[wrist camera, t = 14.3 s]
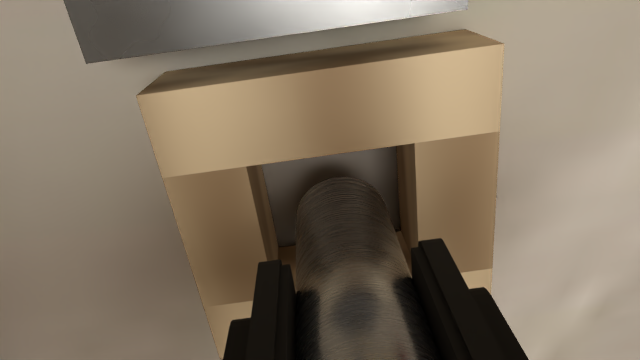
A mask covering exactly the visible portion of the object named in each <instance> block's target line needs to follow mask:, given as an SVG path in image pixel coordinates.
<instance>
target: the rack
mask: <svg viewBox="0 0 640 360" xmlns="http://www.w3.org/2000/svg"><path fill="white" fill-rule="evenodd" d="M503 59H504V43H501V42H498V41H496V40H493V39H490V38H488V37H485V36H482V35H480V34H477V33H474V32H471V31H469V30H466V29H464V30H457V31H450V32H443V33H436V34H429V35H422V36H415V37H408V38H401V39H393V40H386V41H379V42H372V43H365V44H358V45H351V46H344V47H337V48H330V49H323V50H316V51H309V52H302V53H295V54H288V55H281V56H273V57H266V58H259V59H252V60H245V61H238V62H231V63H224V64H217V65H210V66H203V67H196V68H189V69H182V70H175V71H168V72H165V73H163V74H162V75H161V76H160V77H158V78H157V79H156V80H155V81H154V82H152V83H151V84H150V85H149V86H147V87H146V88H145V89H144V90H142V91H141V92H140V93H139V94H137V95H136V97H137V100H138V104H139V107H140V110H141V113H142V116H143V119H144V122H145V125H146V129H147V132H148V135H149V138H150V141H151V144H152V147H153V150H154V154H155V157H156V160H157V163H158V166H159V169H160V172H161V176H162V179H163V182H164V185H165V188H166V191H167V194H168V197H169V201H170V204H171V207H172V210H173V213H174V216H175V219H176V222H177V226H178V229H179V232H180V235H181V238H182V241H183V244H184V247H185V251H186V254H187V257H188V260H189V263H190V266H191V269H192V272H193V276H194V279H195V282H196V285H197V288H198V291H199V294H200V297H201V301H202V304H203V307H204V310H205V313H206V316H207V319H208V323H209V326H210V329H211V332H212V335H213V338H214V341H215V344H216V348H217V351H218V354H219V357H220V359H223V357H224V352H225V346H226V341H227V336H228V331H229V326H230V323H231V321H232V320H235V319H243V318H251V312H252V305H253V297H254V290H255V283H256V275H257V268H258V263H259V262H264V261H271V260H279V259H281V261H282V265H285V264H290V266H291V271H292V276H293V281H294V286H295V288H296V245H294V246H287V247H280V248H278V243H277V238H276V233H275V228H274V224H273V219H272V214H271V209H270V204H269V199H268V194H267V190H266V185H265V180H264V175H263V170H262V165H261V164H268V163H275V162H282V161H290V160H297V159H304V158H311V157H318V156H326V155H333V154H340V153H347V152H354V151H362V150H369V149H376V148H383V147H391V146H396V153H397V171H398V188H399V206H400V223H401V231H397V232H396V235H397V238H398V241H399V243H400V246H401V249H402V252H403V254H404V257H405V260H406V263H407V265H408V268H409V271H410V274H411V276H412V266H411V248H413V247H418V242H419V241H421V240H429V239H436V238H442V239H443V241H444V243H445V245H446V246H447V248H448V250H449V252H450V254H451V256H452V258H453V260H454V262H455V264H456V265H457V267H458V269H459V271H460V273H461V275H462V277H463V279H464V281H465V282H466V284H467V286H468V288H469V289H472V288H480V287H484V288H486V289H487V290H488V292H489V293H490V294H491V282H492V264H493V245H494V226H495V208H496V189H497V170H498V152H499V133H500V115H501V96H502V77H503Z"/></svg>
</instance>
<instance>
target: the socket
mask: <svg viewBox="0 0 640 360" xmlns="http://www.w3.org/2000/svg"><path fill="white" fill-rule="evenodd" d="M64 3H65V6H66V9H67V11H68V14H69V17H70V20H71V23H72V25H73V28H74V31H75V34H76V37H77V39H78V42H79V45H80V48H81V50H82V53H83V56H84V59H85V62H86V64H88V63H95V62H102V61H109V60H116V59H123V58H130V57H137V56H144V55H151V54H158V53H165V52H172V51H179V50H186V49H193V48H200V47H207V46H214V45H221V44H228V43H235V42H242V41H249V40H256V39H263V38H270V37H277V36H285V35H292V34H299V33H306V32H313V31H320V30H327V29H334V28H341V27H348V26H355V25H362V24H369V23H376V22H383V21H390V20H397V19H404V18H411V17H418V16H425V15H432V14H439V13H446V12H453V11H460V10H467V9H468V0H64Z"/></svg>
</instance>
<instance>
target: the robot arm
mask: <svg viewBox="0 0 640 360" xmlns="http://www.w3.org/2000/svg"><path fill="white" fill-rule="evenodd" d="M411 266H412V279H413V282H414V285H415V288H416V290H417V293H418V296H419V299H420V301H421V304H422V307H423V310H424V312H425V315H426V318H427V321H428V323H429V326H430V329H431V332H432V334H433V337H434V340H435V343H436V345H437V348H438V351H439V354H440V357H441V359H442V360H529V359H528V358H527V356H526V354H525V353H524V351H523V349H522V348H521V346H520V344H519V342H518V341H517V339H516V337H515V336H514V334H513V332H512V330H511V329H510V327H509V325H508V324H507V322H506V320H505V318H504V317H503V315H502V313H501V312H500V310H499V308H498V306H497V305H496V303H495V301H494V300H493V298H492V296H491V294H490V293H489V292H488V290H487V289H486V288H484V287H480V288H472V289H469V288H468V286H467V284H466V282H465V281H464V279H463V277H462V275H461V273H460V271H459V269H458V267H457V265H456V264H455V262H454V260H453V258H452V256H451V254H450V252H449V250H448V248H447V246H446V245H445V243H444V241H443V239H442V238H436V239H429V240H421V241H419V242H418V247H413V248H411ZM295 355H296V291H295V286H294V281H293V276H292V271H291V266H290V264H285V265H282V261H281V259H279V260H271V261H264V262H259V263H258V268H257V275H256V283H255V290H254V297H253V305H252V312H251V318H243V319H235V320H232V321H231V323H230V326H229V331H228V336H227V341H226V346H225V352H224V357H223V360H295Z"/></svg>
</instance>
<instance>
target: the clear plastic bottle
mask: <svg viewBox="0 0 640 360" xmlns="http://www.w3.org/2000/svg"><path fill="white" fill-rule="evenodd" d="M295 291H296V355H295V360H442V359H441V357H440V354H439V351H438V348H437V345H436V343H435V340H434V337H433V334H432V332H431V329H430V326H429V323H428V321H427V318H426V315H425V312H424V310H423V307H422V304H421V301H420V299H419V296H418V293H417V290H416V288H415V285H414V282H413V279H412V276H411V274H410V271H409V268H408V265H407V263H406V260H405V257H404V254H403V252H402V249H401V246H400V243H399V241H398V238H397V235H396V232H395V230H394V227H393V224H392V221H391V219H390V216H389V213H388V210H387V208H386V205H385V202H384V200H383V198H382V196H381V195H380V193H379V192H378V191H377V190H376V189H375V188H374V187H373V186H371V185H370V184H368V183H367V182H365V181H362V180H360V179H357V178H352V177H335V178H330V179H327V180H324V181H322V182H320V183H318V184H316V185H315V186H313V187H312V188H311V189H309V190H308V191H307V193H306V194H305V195H304V196H303V198H302V199H301V201H300V203H299V205H298V208H297V213H296V288H295Z"/></svg>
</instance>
